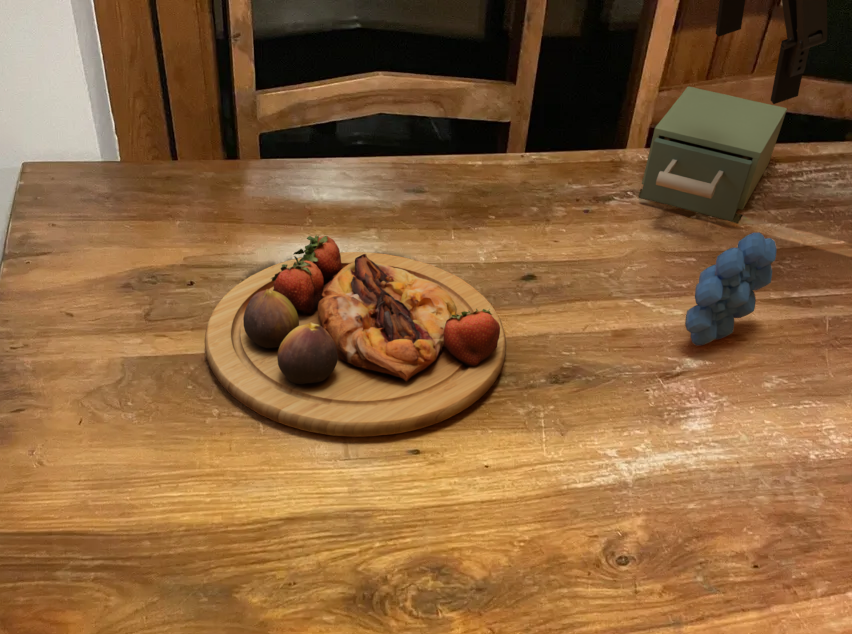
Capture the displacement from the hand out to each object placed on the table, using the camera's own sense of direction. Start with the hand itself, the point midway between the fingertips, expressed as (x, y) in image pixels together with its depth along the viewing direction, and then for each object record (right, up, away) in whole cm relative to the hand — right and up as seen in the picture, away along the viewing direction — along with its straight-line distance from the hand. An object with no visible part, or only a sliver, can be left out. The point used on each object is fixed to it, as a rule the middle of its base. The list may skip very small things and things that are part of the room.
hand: (755, 64), depth 103 cm
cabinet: (+2, -3, +25) cm, 25 cm away
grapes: (-5, -30, +2) cm, 30 cm away
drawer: (0, -6, +21) cm, 22 cm away
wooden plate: (-44, -32, -2) cm, 55 cm away
